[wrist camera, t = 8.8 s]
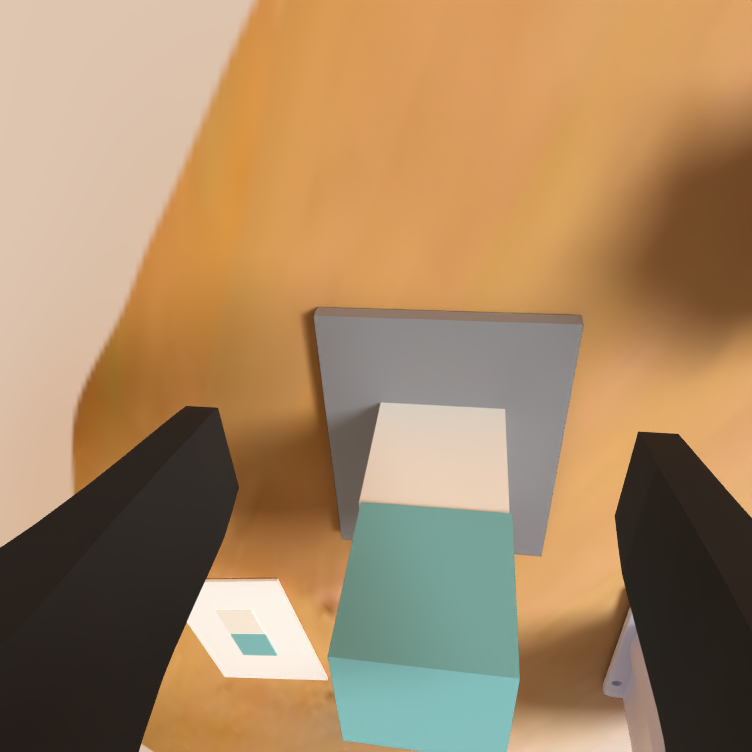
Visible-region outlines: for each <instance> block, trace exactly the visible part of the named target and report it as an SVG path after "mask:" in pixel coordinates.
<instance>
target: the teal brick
mask: <svg viewBox="0 0 752 752" xmlns="http://www.w3.org/2000/svg"><path fill="white" fill-rule="evenodd" d="M328 661H329V667H330V672H331V678H332V683H333V689H334V694H335V700H336V705H337V710H338V716H339V721H340V727H341V732H342V738H343V741H349V742H357V743H364V744H372V745H379V746H386V747H394V748H401V749H409V750H416V751H424V752H507V747H508V742H509V736H510V731H511V725H512V720H513V714H514V709H515V703H516V698H517V692H518V687H519V681H520V670H519V649H518V628H517V606H516V585H515V564H514V543H513V522H512V513H500V512H487V511H473V510H460V509H447V508H434V507H421V506H408V505H395V504H382V503H369V502H361V504H360V508H359V513H358V518H357V522H356V527H355V532H354V536H353V541H352V546H351V550H350V555H349V560H348V564H347V569H346V574H345V578H344V583H343V588H342V592H341V597H340V601H339V606H338V611H337V615H336V620H335V625H334V629H333V634H332V639H331V643H330V648H329V653H328Z"/></svg>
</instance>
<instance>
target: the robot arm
mask: <svg viewBox="0 0 752 752" xmlns="http://www.w3.org/2000/svg"><path fill="white" fill-rule="evenodd" d="M238 489H239V486H238V482H237V479H236V475H235V471H234V467H233V463H232V460H231V456H230V452H229V448H228V444H227V441H226V437H225V433H224V429H223V425H222V422H221V418H220V414H219V410H218V408H210V407H193V406H186V407H184V408H183V409H182V410H180V411H179V412H178V413H176V414H175V415H174V416H173V417H171V418H170V419H169V420H168V421H166V422H165V423H164V424H163V425H161V426H160V427H159V428H158V429H157V430H155V431H154V432H153V433H152V434H150V435H149V436H148V437H147V438H146V439H144V440H143V441H142V442H141V443H140V444H138V445H137V446H136V447H135V448H133V449H132V450H131V451H130V452H129V453H127V454H126V455H125V456H124V457H122V458H121V459H120V460H119V461H117V462H116V463H115V464H114V465H112V466H111V467H110V468H109V469H107V470H106V471H105V472H104V473H102V474H101V475H100V476H99V477H97V478H96V479H95V480H94V481H92V482H91V483H90V484H89V485H87V486H86V487H85V488H83V489H82V490H81V491H79V492H78V493H76V494H75V495H74V496H72V497H71V498H70V499H68V500H67V501H66V502H64V503H63V504H62V505H60V506H59V507H58V508H56V509H55V510H54V511H52V512H51V513H50V514H48V515H47V516H46V517H44V518H43V519H41V520H40V521H39V522H37V523H36V524H35V525H33V526H32V527H30V528H29V529H28V530H26V531H24V532H23V533H22V534H20V535H19V536H17V537H16V538H14V539H13V540H11V541H10V542H8V543H7V544H5V545H4V546H2V547H1V548H0V752H139V749H140V746H141V742H142V739H143V736H144V733H145V730H146V727H147V724H148V721H149V718H150V715H151V712H152V709H153V706H154V703H155V700H156V697H157V694H158V691H159V688H160V685H161V682H162V679H163V677H164V674H165V672H166V669H167V667H168V664H169V662H170V659H171V657H172V654H173V652H174V649H175V647H176V645H177V643H178V640H179V638H180V636H181V634H182V631H183V629H184V627H185V625H186V623H187V620H188V618H189V616H190V614H191V611H192V609H193V607H194V605H195V602H196V600H197V598H198V596H199V594H200V591H201V589H202V587H203V585H204V582H205V580H206V578H207V576H208V573H209V571H210V569H211V567H212V564H213V562H214V560H215V557H216V555H217V553H218V551H219V548H220V546H221V544H222V541H223V539H224V536H225V533H226V530H227V526H228V523H229V520H230V517H231V513H232V510H233V506H234V503H235V499H236V496H237V492H238ZM615 522H616V531H617V539H618V548H619V555H620V562H621V569H622V575H623V579H624V583H625V587H626V591H627V595H628V599H629V603H630V608H629V611H628V614H627V617H626V620H625V623H624V626H623V628H622V631H621V634H620V637H619V640H618V643H617V646H616V648H615V651H614V654H613V657H612V660H611V663H610V666H609V669H608V671H607V674H606V677H605V680H604V683H603V692H604V694H605V695H607V696H610V697H617V698H623V701H624V707H625V712H626V718H627V724H628V729H629V735H630V740H631V746H632V751H633V752H752V518H751V517H750V516H749V515H748V513H747V512H746V511H745V510H744V509H743V508H742V507H741V506H740V504H739V503H738V502H737V501H736V500H735V499H734V498H733V497H732V495H731V494H730V493H729V492H728V491H727V490H726V489H725V487H724V486H723V485H722V484H721V483H720V482H719V481H718V479H717V478H716V477H715V476H714V475H713V474H712V472H711V471H710V470H709V469H708V468H707V467H706V465H705V464H704V463H703V462H702V461H701V460H700V458H699V457H698V456H697V455H696V454H695V453H694V451H693V450H692V449H691V448H690V447H689V446H688V445H687V443H686V442H685V441H684V440H683V439H682V438H681V437H680V436H679V434H669V433H652V432H638V435H637V438H636V442H635V446H634V449H633V453H632V456H631V460H630V463H629V467H628V471H627V474H626V478H625V481H624V485H623V488H622V492H621V496H620V499H619V503H618V506H617V510H616V514H615Z"/></svg>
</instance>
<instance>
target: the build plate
mask: <svg viewBox="0 0 752 752" xmlns="http://www.w3.org/2000/svg"><path fill="white" fill-rule="evenodd" d="M314 323H315V331H316V339H317V347H318V355H319V362H320V370H321V378H322V386H323V394H324V402H325V410H326V418H327V425H328V433H329V441H330V449H331V457H332V465H333V473H334V481H335V489H336V496H337V504H338V512H339V520H340V528H341V536H342V539H346V540H353V536H354V532H355V527H356V522H357V518H358V513H359V500H360V495H361V491H362V486H363V482H364V477H365V473H366V468H367V463H368V459H369V454H370V450H371V445H372V440H373V436H374V431H375V427H376V422H377V417H378V413H379V408H380V404H381V402H383V403H402V404H421V405H440V406H458V407H477V408H496V409H505V419H506V442H507V465H508V488H509V512H510V513H512V522H513V543H514V554H518V555H530V556H541V555H542V550H543V544H544V539H545V533H546V528H547V522H548V517H549V512H550V506H551V501H552V495H553V490H554V484H555V479H556V473H557V468H558V462H559V457H560V451H561V446H562V440H563V435H564V429H565V424H566V418H567V413H568V407H569V402H570V396H571V391H572V385H573V380H574V374H575V369H576V363H577V358H578V352H579V347H580V341H581V336H582V330H583V325H584V324H583V320H582V316H581V315H559V314H527V313H494V312H461V311H428V310H396V309H363V308H330V307H317V309H316V311H315V314H314Z"/></svg>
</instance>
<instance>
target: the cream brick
mask: <svg viewBox="0 0 752 752" xmlns="http://www.w3.org/2000/svg"><path fill="white" fill-rule="evenodd" d="M361 502H369V503H382V504H395V505H408V506H421V507H434V508H447V509H460V510H473V511H487V512H500V513H510V512H509V488H508V465H507V442H506V419H505V409H496V408H477V407H458V406H440V405H421V404H402V403H383V402H381V404H380V408H379V413H378V417H377V422H376V427H375V431H374V436H373V440H372V445H371V450H370V454H369V459H368V463H367V468H366V473H365V477H364V482H363V486H362V491H361V495H360V500H359V508H360V504H361Z"/></svg>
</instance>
